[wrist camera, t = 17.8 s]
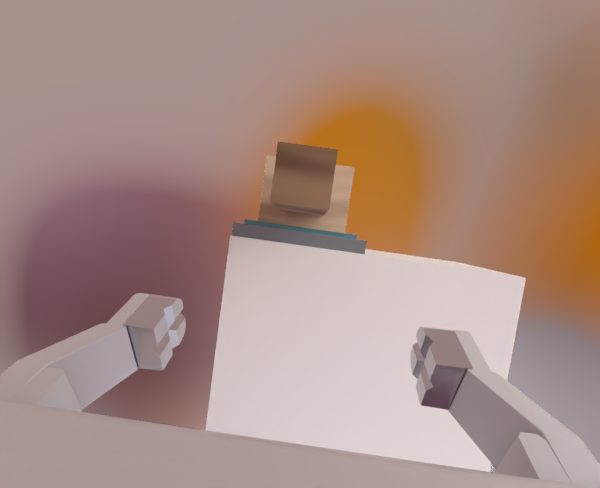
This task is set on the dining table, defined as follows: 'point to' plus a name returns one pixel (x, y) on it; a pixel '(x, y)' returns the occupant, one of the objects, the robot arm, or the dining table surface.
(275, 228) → the pad
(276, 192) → the stamp
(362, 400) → the white block
